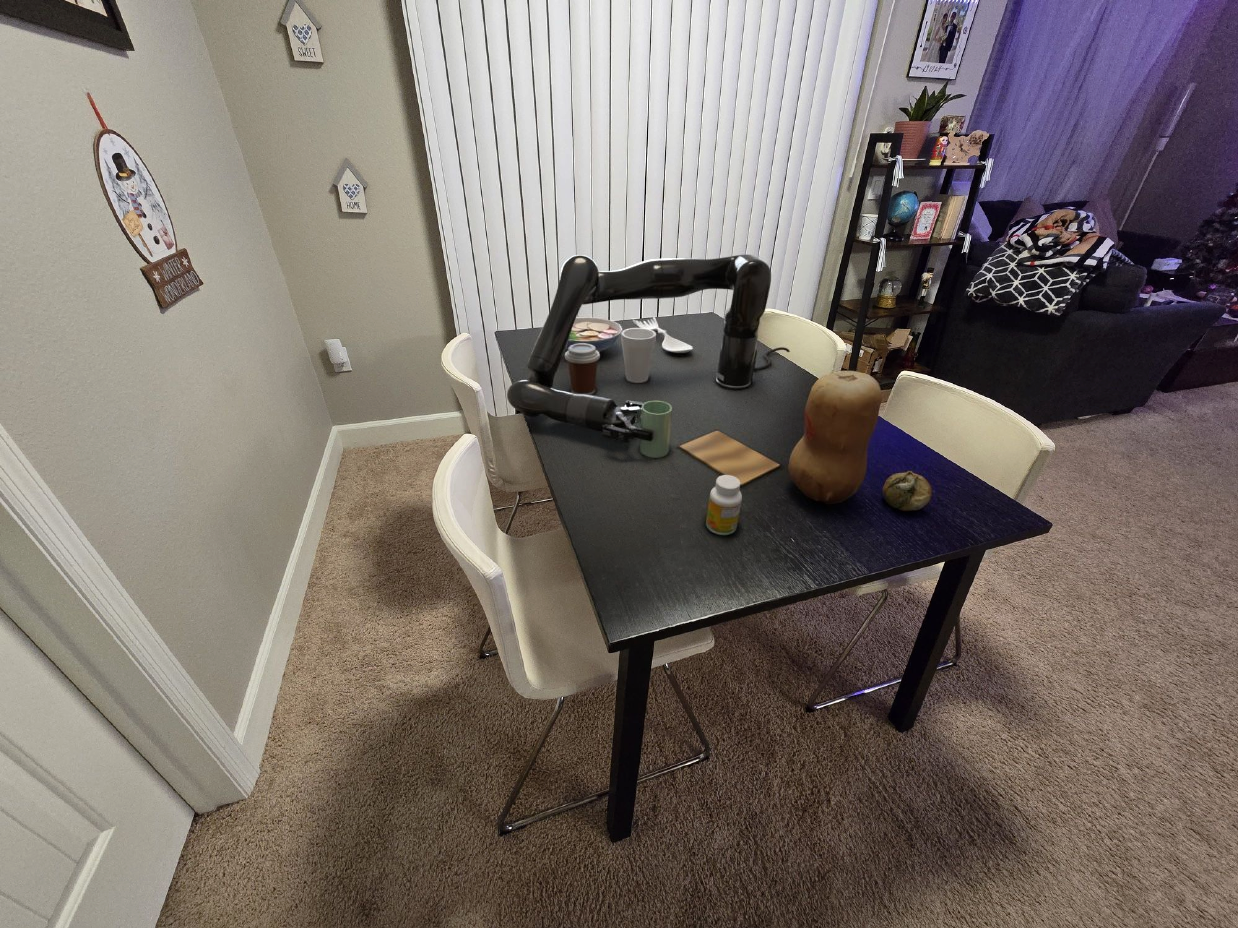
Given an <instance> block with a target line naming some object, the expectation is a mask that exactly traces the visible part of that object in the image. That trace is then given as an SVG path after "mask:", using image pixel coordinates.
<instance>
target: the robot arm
mask: <svg viewBox="0 0 1238 928" xmlns="http://www.w3.org/2000/svg"><path fill="white" fill-rule="evenodd" d="M558 280H559V281H558V284H557V287H556V288H557V289H556V292H555V296H554V299H553V301H552V304H551V307H550V310H549V312H548V315H547V317H546V319H545V322H544V324H543V326H542V327H541V331H540V332H539V334H538V337H537V339H536V341H535V343H534V346H533V348H532V350H531V353H530V354H529V357H528V360H527V362H526V370H527V372H528V374H529V376H528V377H529V378H528V380H527V379H520V380H517V381H515V382H513V383H512V384H510V386H509V387H508V389H507V392H506V398H507V401H508V403H509V404H510V406H511V407H512V408H513V409H515V410H516V411H518V412H520V413H521V414H523V415H524V416H525V417H528V418H531V419H532V418H538V417H539V416H541V415H543V416H545V417H547V418H549V419H551V420H554V421H556V422H561V423H564V424H569V425H572V426H575V427H578V428H582V429H587V430H591V431H595V432H600V433H602V437H603V438H606V439H610V440H613V441H616V442H620V443H621V442H622V443H624V444H625V443H626V444H627V443H629V442H630V440H635V439H637V440H640V439H642V440H647V441H652V439H653V431H652V430H647V429H642V428H641V427H635V426H634V425H635V424H639V423H641V411H642V405H643V404H644V403H645V402H641V401H635V400H631V399H630V400H625V405H624V406H623V405H622V406H620V405H619V406H618V405H617V404H616V402H615V400H614V399H611V398H607V397H602V396H597V395H593V394H591V395H588V394H577V393H572V391H567V390H559V389H556V388H554V387H553V386H554V379H555V376H556V373H557V371H558V368H559V366H560V364H561V361H562V360H563V357H564V356H565V353H566V347H567V344H568V340H569V337H570V334H571V331H572V327H573V325H574V322H575V319H576V318H578V317H577V316H578V314H579V312H580V310H581V308H582V306H585V305H592V304H598V303H603V302H610V301H620V300H621V301H622V300H658V299H659V300H660V299H677V298H682V297H686V296H689V295H693V294H695V293H699V292H701V291H705V290H728V291H729V290H730V291H732V295H731V296H732V297H731V301H730V306H729V307H728V308H727V309H726V310H725V312H724V318H723V319H724V320H723V328H722V334H721V342H720V351H719V358H718V365H717V371H716V372H715V376H716V378H715V382H716V384H717V385H718V386H720V387H723V388H726V389H729V390H743V389H747V388H748V387H750V385H751V383H753V378H754V373H755V371H761V370H764V369H766V368H768V367H769V366H771V364H772V361H771V359H770V357H768V355H770V354H772V353H775V352H777V351H785V352H786V353H790V352H791V351H790V349H789V348H787V347H784V346H782V347H776V348H772V349H770V350H768V351H766V352H765V353H764V359H765V360H766V361H767V362H768V363H767V364H765V365H763V366H759V367H756V363H757V356H758V349H757V343H758V339H759V331H760V325H761V320H762V318H763V316H764V314H765V313H766V309H767V304H768V299H769V294H770V290H771V284H772V271H771V268H770V266H769V264H767V263H766V262H765V261H764V260H762V259H760V258H759V257H757V256H755V255H753V254H746V253H744V254H743V253H742V254H737V255H736V254H735V255H731V256H723V257H717V258H675V257H674V258H672V257H671V258H654V259H648V260H645V261H641V262H638V263H635V264H633V265H630V266H628V267H625V268H622V269H618V270H617V269H616V270H601V271H600V270H599V268H598V266H597V264H596V262H595V260H593V259H592V258H591V257H589V256H587V255H583V254H576V255H572V256H571V257H569V258H568V259H567V260H566V261H565V262H564V263H563V265H562V267H561V270H560V277H559V279H558ZM620 434H621V435H620Z"/></svg>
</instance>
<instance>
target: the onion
mask: <svg viewBox="0 0 1238 928" xmlns="http://www.w3.org/2000/svg"><path fill="white" fill-rule="evenodd" d="M932 492H933V491H932V486H931V484H930V483H929V481H928V480H927V479H926V478H925V477H924V476H922V475H920V474H917V473H915V472H913V471H912V470H908V471H907V472H898V473H894V474H891V475H890V476H889V477H888V478H887V479H886V480H885V482H884V485H883V486H882V496H883V498H884V500H885V502H886V503H887V504H888V505H889V506H890V507H892V508H894V509H897V510H900V511H903V512H910V511H918V510H921V509H922V508H924V507H925V506H926V505H928V503H930V501H931V498H932V495H933V494H932Z"/></svg>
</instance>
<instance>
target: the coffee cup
mask: <svg viewBox="0 0 1238 928" xmlns="http://www.w3.org/2000/svg"><path fill="white" fill-rule="evenodd" d="M600 357H601V354H600V352H598V351H597V350H596V348H595V346H593V345H591V344H586V343H578V344H573V345H571V346H570V347H569V348H568V350H566V351H565V352H564V359H565V360H566V361H567V365H568V366H567V367H568V374H569V380H570V389H571V391H570V392H572V393H577V394H588V395H593V394H594V393H595V392H596V384H597V367H598V360H600Z"/></svg>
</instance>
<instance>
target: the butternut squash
mask: <svg viewBox="0 0 1238 928" xmlns="http://www.w3.org/2000/svg"><path fill="white" fill-rule="evenodd" d="M882 402H883V396H882V390H881V386H880V383H879V382H878V380H876V379H875V378H874V377H873V376H871V375H870V374H868V373H864V372H860V371H855V370H838V371H834V372H831V373H827V374H824V375H822V376H821V377H819V378H817V380H816V381H815V382H814V384H813V385H812V386H811V389H810V392H809V395H808V397H807V401H806V404H805V407H804V420H803V421H804V422H803V423H804V427H803V428H804V432H803V433H804V434H803V436H802V438H800V439H799V441H797V443H796V445H795V446H794V447H793V450H792V452H791V453H790V457H789V460H788V464H787V471H788V475H789V477H790V480H791V482H792V483H794V485H795V486H796V487H797V488H798V489H799V490H800V491H801V492H802V493H803V495H804V496H806V497H807V498H809V499H811V500H814V501H816V502H822V503H825V504H826V505H834V504H839V503H843V502H844V501H846V500H847V499H849V498H851V497H853V495H855V494H856V493H857V492H858V491H859V489H860V488H861V485H862V484H863V482H864V480H865V479H866V478H865V477H866V475H867V467H868V465H867V464H868V446H869V443H870V440H871V437H872V436H873V433H874V431H875V430H876V427H877V423H878V420H879V419H878V418H879V413H880V409H881V404H882Z"/></svg>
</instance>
